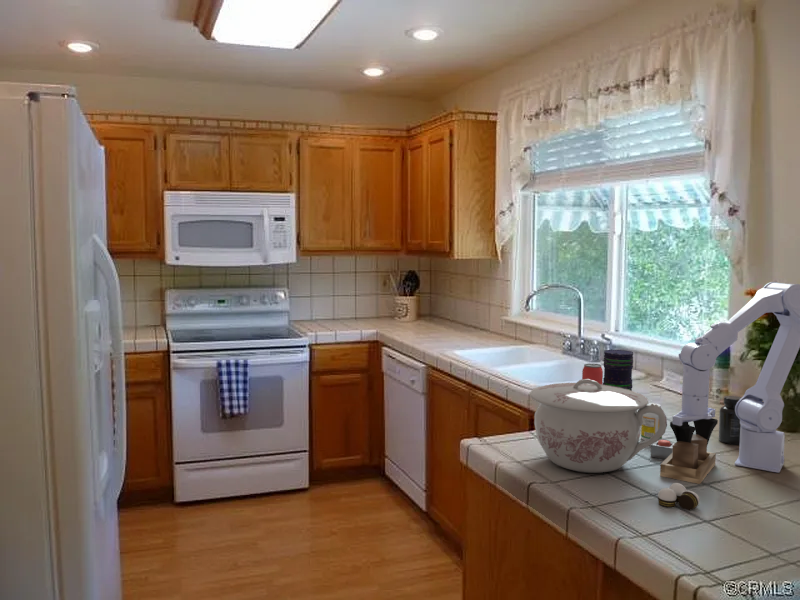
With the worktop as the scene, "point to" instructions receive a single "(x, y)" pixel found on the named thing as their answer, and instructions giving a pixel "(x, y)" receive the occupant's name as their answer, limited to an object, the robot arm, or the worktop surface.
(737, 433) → the supplement bottle
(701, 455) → the billet
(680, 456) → the walnut billet
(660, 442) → the button
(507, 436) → the worktop surface
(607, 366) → the storage jar
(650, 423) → the supplement bottle
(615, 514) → the worktop surface
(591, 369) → the beer can
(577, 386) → the chamber pot
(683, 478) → the wooden tray
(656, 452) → the switch box
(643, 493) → the worktop surface
